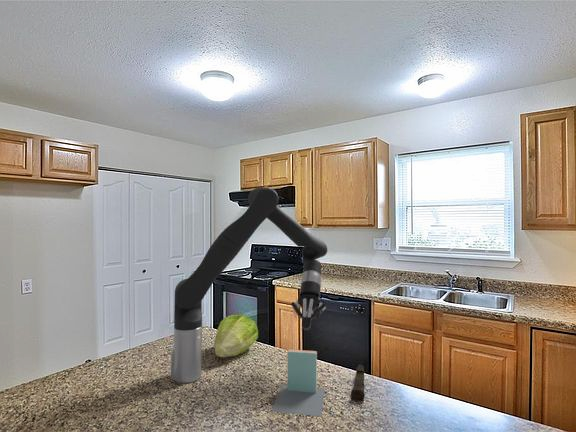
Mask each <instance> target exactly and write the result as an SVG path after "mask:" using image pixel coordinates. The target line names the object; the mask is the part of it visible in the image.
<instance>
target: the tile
mask: <svg viewBox="0 0 576 432" xmlns="http://www.w3.org/2000/svg"><path fill="white" fill-rule="evenodd" d="M287 350H288V351H287V384H286V385H287V390H290V391H301V392H312V393H316V391H317V388H318V387H317V386H318V384H317V382H318V379H317V375H318V373H317V371H318V369H317V368H318V367H317V366H318V360H317V359H318V351H315V350H302V349H301V350H300V349H287Z"/></svg>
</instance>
